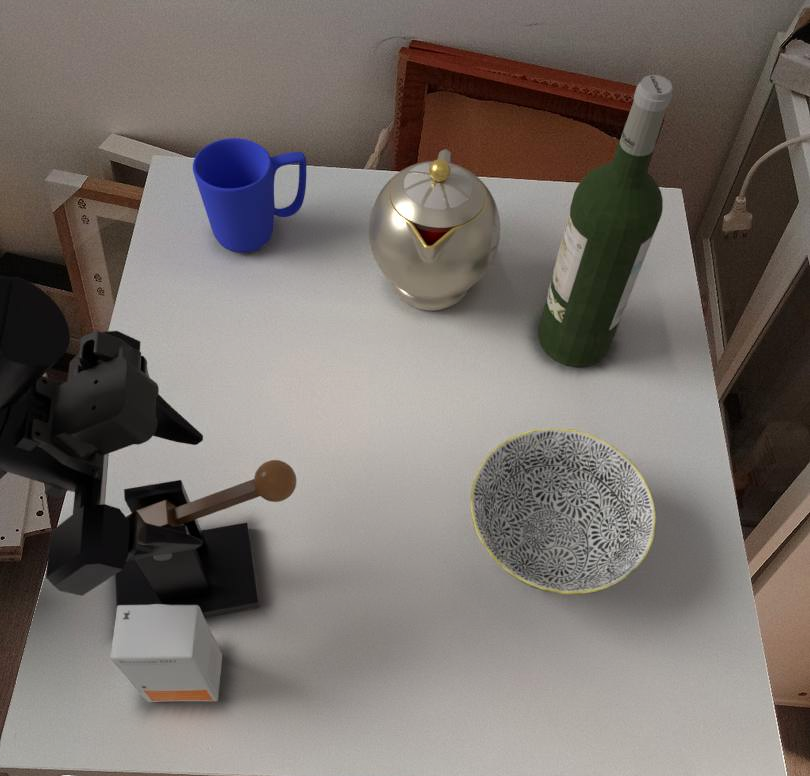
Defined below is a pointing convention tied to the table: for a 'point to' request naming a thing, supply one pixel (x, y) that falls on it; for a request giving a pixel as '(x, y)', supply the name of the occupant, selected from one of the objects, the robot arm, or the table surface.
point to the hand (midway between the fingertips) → (199, 491)
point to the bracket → (190, 563)
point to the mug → (243, 191)
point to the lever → (226, 496)
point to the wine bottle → (606, 238)
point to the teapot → (434, 232)
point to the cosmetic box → (167, 652)
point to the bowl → (563, 511)
